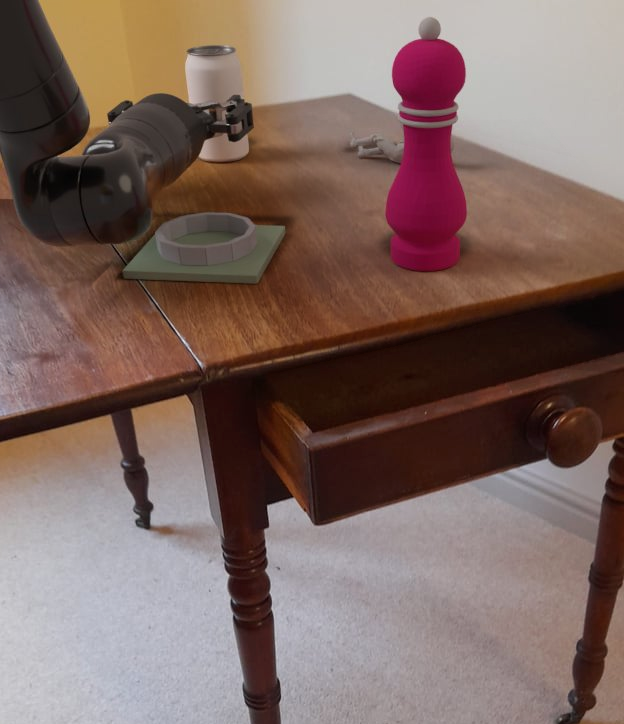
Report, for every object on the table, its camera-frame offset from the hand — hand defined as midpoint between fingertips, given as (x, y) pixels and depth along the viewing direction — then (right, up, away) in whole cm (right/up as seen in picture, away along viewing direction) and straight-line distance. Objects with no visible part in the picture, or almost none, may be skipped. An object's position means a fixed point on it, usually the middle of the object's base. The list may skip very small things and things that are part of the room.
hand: (201, 103), depth 97 cm
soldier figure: (+22, -5, +7) cm, 24 cm away
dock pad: (+4, -20, -16) cm, 27 cm away
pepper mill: (+24, -21, -17) cm, 37 cm away
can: (+1, -3, +10) cm, 10 cm away
